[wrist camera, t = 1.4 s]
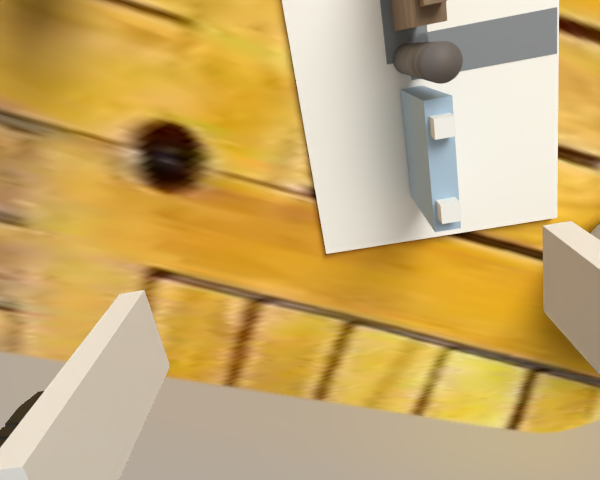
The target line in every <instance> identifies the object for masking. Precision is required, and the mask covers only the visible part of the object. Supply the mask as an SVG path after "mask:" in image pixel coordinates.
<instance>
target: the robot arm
mask: <svg viewBox="0 0 600 480" xmlns="http://www.w3.org/2000/svg"><path fill="white" fill-rule="evenodd" d="M543 310H544V313H545V314H546V315H547V316H548V317H549V318H550V319H551V321H552V322H553V323H554V324H555V325H556V326H557V327H558V329H559V330H560V331H561V332H562V333H563V334H564V335H565V336H566V338H567V339H568V340H569V341H570V342H571V343H572V344H573V346H574V347H575V348H576V349H577V350H578V351H579V352H580V353H581V355H582V356H583V357H584V358H585V359H586V360H587V361H588V363H589V364H590V365H591V366H592V367H593V368H594V369H595V371H596V372H597V373H598V374H599V375H600V240H599V239H597V238H596V237H594V236H593V235H591V234H590V233H588V232H587V231H585V230H584V229H582V228H581V227H579V226H578V225H576V224H575V223H573V222H572V221H568V222H562V223H556V224H550V225H544V226H543ZM169 367H170V365H169V362H168V359H167V356H166V353H165V350H164V347H163V344H162V341H161V338H160V335H159V332H158V329H157V326H156V323H155V320H154V317H153V314H152V311H151V308H150V305H149V302H148V300H147V297H146V294H145V291H144V290H142V291H135V292H129V293H123V294H120V295H119V296H118V297H117V298H116V300H115V301H114V302H113V304H112V305H111V306H110V307H109V309H108V310H107V311H106V313H105V314H104V315H103V316H102V318H101V319H100V320H99V322H98V323H97V324H96V325H95V327H94V328H93V329H92V331H91V332H90V333H89V334H88V336H87V337H86V338H85V340H84V341H83V342H82V343H81V345H80V346H79V347H78V349H77V350H76V351H75V352H74V354H73V355H72V356H71V357H70V359H69V360H68V361H67V363H66V364H65V365H64V366H63V368H62V369H61V370H60V372H59V373H58V374H57V375H56V377H55V378H54V379H53V381H52V382H51V383H50V385H49V386H48V387H47V388H46V390H45V391H41V392H38V393H36V394H35V395H34V396H33V397H31V398H30V399H29V400H27V401H26V402H25V403H24V404H22V405H21V406H20V407H19V408H18V409H17V410H16V411H15V413H14V414H13V415H12V416H11V417H10V419H9V420H8V421H7V423H6V424H5V427H3V428H2V429H1V430H0V480H120V478H121V475H122V473H123V471H124V469H125V466H126V464H127V462H128V460H129V457H130V455H131V453H132V451H133V448H134V446H135V444H136V442H137V439H138V437H139V435H140V433H141V430H142V428H143V426H144V424H145V421H146V419H147V417H148V415H149V412H150V410H151V408H152V406H153V403H154V401H155V399H156V397H157V394H158V392H159V390H160V388H161V385H162V383H163V381H164V379H165V376H166V374H167V372H168V370H169Z"/></svg>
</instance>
